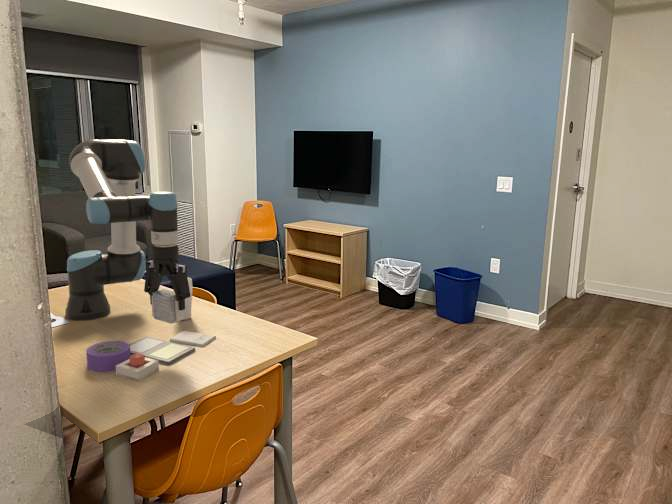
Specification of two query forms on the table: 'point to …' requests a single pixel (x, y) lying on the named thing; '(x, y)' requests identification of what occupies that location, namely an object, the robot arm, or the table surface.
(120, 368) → the button housing
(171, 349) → the picture board
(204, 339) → the external hard drive
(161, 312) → the medicine box
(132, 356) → the button
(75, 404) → the table surface
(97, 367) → the tape roll
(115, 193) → the robot arm
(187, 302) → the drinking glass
